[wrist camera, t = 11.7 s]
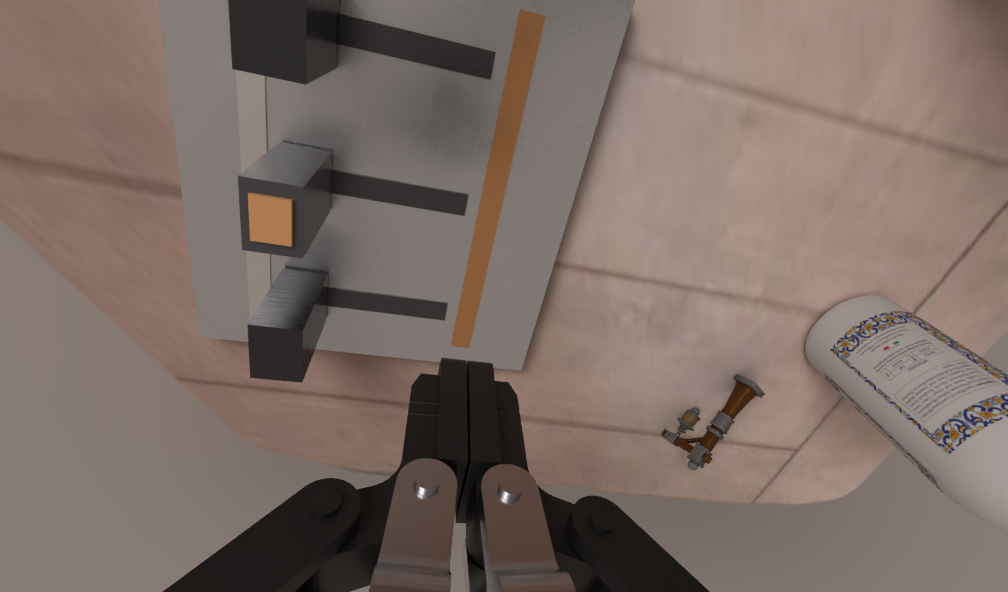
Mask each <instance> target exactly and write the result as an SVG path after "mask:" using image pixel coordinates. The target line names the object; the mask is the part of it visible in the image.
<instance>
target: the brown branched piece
mask: <svg viewBox="0 0 1008 592" xmlns="http://www.w3.org/2000/svg"><path fill="white" fill-rule="evenodd" d="M733 378H734V379H735V380H736V382H737V383H736V386H735V388H734V390H733V392H732V394H731V396H730V398H729V400H728V401H727V403H726V405H725V406H724V408H723V409H722V411H718V413H717V415H716V416H715V418H714V419H713V420H712V421H711V422H710V423H711V424H712V425H711V426H707V428H706V429H707V430H708V431H707V432H706V434H705V435H704V436H703V437H700V438H692V439H682V438H679V436H680V434H682V433H686V432H685V431H684V430H686V429H689V430H692V431H694V430H693V429H692V427H693V426H694V425H695V423H696V422H697V421H699V420H701V419H700V418H699V417H698V416H697V415H699V413H700V411H699V409H698V408H693V409H692V410H691V411H690V410H687V411H686V412H685V414H684V415H683V417H682V418H681V419H679V418H678V420H679V422H680V424H681V425H680V427H681V428H680V427H678V426H677V427H678V430H677V433H678V434H679V435H678V436H677V433H676V434H674V433H672V432H671V433H670V432H669V431H667V430H664V431H663V432H662V433H661V435H662V436H663V437H664V438H666V439H667V440H669V441H670V442H671V443H672V444H674V445H676V446H679V447H681V448H682V449H684V450H686V451H687V452H689V453H690V454H689V455H688V456H687V457H688V458H689V459H690V461H689V462H688V467H689V469H691V470H696V469H697V468H698V466H700V467H701V468H703V467H704V464H705V463H708V464H709V463H710V461H711V460H712V458H711V457H710V456H711V455H712V454H711V453H710V452H711V451H712V449H713V448H714V446H715V445H716V443H717V442H718V441H719V439H721V440H722V439H723V438H724V437H723V436H722V435H723V434H727V431H728V429H729V428H730V426H731V425H732V424H733V423H734V421H733V419H734V418H735V417H736V415H737V414H738V413H739V412H740V411H741V410H742V409H743V408H744V407H745V406H746V404H747V403H748V402H749V401H750V400H752V399H753V398H754V397H755V396H759V397H761V398H762V396H763V395H765V394H764V392H763V391H762V390H761V389H760V387H759V386H758V385H757V383H756V382H754V381H752V380H749V379H747V378H745V377H742V376H740V375H738V374H737V375H736V376H734V377H733ZM678 431H680V432H681V433H680V432H678ZM686 431H687V430H686ZM696 442H700V443H699V444H698V443H696ZM688 443H696V445H695V447H693V446H691V445H690V444H688Z"/></svg>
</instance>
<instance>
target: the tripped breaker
mask: <svg viewBox="0 0 1008 592" xmlns="http://www.w3.org/2000/svg"><path fill="white" fill-rule="evenodd" d="M331 169H332V151H326V150H321V149H316V148H310V147H305V146H300V145H294V144H289V143H284V142H280V143H278V144H277V145H276V146H275V147H273V148H272V149H271V150H270V151H268V152H267V153H266V154H264V155H263V156H262V157H261V158H259V159H258V160H257V161H256V162H254V163H253V164H252V165H251V166H249V167H248V168H247V169H246V170H244V171H243V172H242V173H240V174H239V175H238V190H239V207H240V224H241V240H242V250H245V251H252V252H259V253H266V254H273V255H280V256H287V257H294V258H301V259H303V258H304V256H305V254H306V252H307V251H308V249H309V247H310V245H311V244H312V242H313V240H314V238H315V237H316V235H317V233H318V232H319V230H320V228H321V226H322V225H323V223H324V221H325V219H326V218H327V216H328V214H329V212H330V194H331Z"/></svg>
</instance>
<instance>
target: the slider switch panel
mask: <svg viewBox="0 0 1008 592" xmlns="http://www.w3.org/2000/svg"><path fill="white" fill-rule="evenodd" d="M158 2H159V11H160V19H161V27H162V35H163V43H164V52H165V60H166V68H167V76H168V84H169V92H170V101H171V109H172V117H173V125H174V133H175V142H176V150H177V158H178V166H179V174H180V182H181V191H182V199H183V207H184V215H185V223H186V232H187V240H188V248H189V256H190V264H191V272H192V281H193V289H194V297H195V305H196V313H197V322H198V330H199V337H204V338H214V339H223V340H232V341H242V342H248V344H249V361H250V378H259V379H270V380H281V381H292V382H303V379H304V377H305V374H306V371H307V369H308V366H309V364H310V361H311V358H312V356H313V353H314V351H315V349H318V350H327V351H337V352H346V353H356V354H365V355H375V356H384V357H394V358H403V359H413V360H422V361H432V362H440V361H441V358H450V359H459V360H466V363H467V361H468V360H469V361H478V362H487V363H492V364H493V368H498V369H508V370H517V371H521V370H522V367H523V364H524V360H525V357H526V354H527V351H528V347H529V344H530V341H531V338H532V334H533V331H534V328H535V325H536V321H537V318H538V315H539V312H540V308H541V305H542V302H543V299H544V295H545V292H546V289H547V286H548V282H549V279H550V276H551V273H552V269H553V266H554V263H555V260H556V256H557V253H558V250H559V247H560V243H561V240H562V237H563V234H564V230H565V227H566V224H567V221H568V217H569V214H570V211H571V208H572V204H573V201H574V198H575V195H576V191H577V188H578V185H579V181H580V178H581V175H582V172H583V168H584V165H585V162H586V159H587V155H588V152H589V149H590V146H591V142H592V139H593V136H594V133H595V129H596V126H597V123H598V120H599V116H600V113H601V110H602V107H603V103H604V100H605V97H606V94H607V90H608V87H609V84H610V81H611V77H612V74H613V71H614V68H615V64H616V61H617V58H618V55H619V51H620V48H621V45H622V42H623V38H624V35H625V32H626V29H627V25H628V22H629V19H630V16H631V12H632V9H633V6H634V3H635V0H158ZM280 142H284V143H289V144H294V145H300V146H305V147H310V148H316V149H321V150H326V151H332V169H331V194H330V212H329V214H328V216H327V218H326V219H325V221H324V223H323V225H322V226H321V228H320V230H319V232H318V233H317V235H316V237H315V238H314V240H313V242H312V244H311V245H310V247H309V249H308V251H307V252H306V254H305V256H304V258H303V259H301V258H294V257H287V256H280V255H273V254H266V253H259V252H252V251H245V250H242V240H241V224H240V207H239V190H238V175H239V174H240V173H242V172H243V171H244V170H246V169H247V168H248V167H249V166H251V165H252V164H253V163H254V162H256V161H257V160H258V159H259V158H261V157H262V156H263V155H264V154H266V153H267V152H268V151H270V150H271V149H272V148H273V147H275V146H276V145H277V144H278V143H280Z"/></svg>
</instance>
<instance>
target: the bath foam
mask: <svg viewBox="0 0 1008 592" xmlns="http://www.w3.org/2000/svg"><path fill="white" fill-rule="evenodd" d="M805 354H806V357H807V359H808V361H809V363H810V364H811V365H812V366H813V367H814V368H815V369H816V370H817V371H818V372H819V373H820V374H821V375H822V376H823V377H824V378H825V379H826V380H827V381H828V382H829V383H830V384H831V385H832V386H833V387H834V388H835V389H836V390H837V391H838V392H839V393H840V394H841V395H842V396H843V397H844V398H845V399H847V400H848V401H849V402H850V403H851V404H852V405H853V406H854V407H855V408H856V409H857V410H858V411H859V412H860V413H861V414H862V415H863V416H864V417H865V418H866V419H867V420H868V421H869V422H870V423H871V424H872V425H873V426H874V427H875V428H876V429H878V430H879V431H880V432H881V433H882V434H883V435H884V436H885V437H886V438H887V439H888V440H889V441H890V442H891V443H892V444H893V445H894V446H895V447H896V448H897V449H898V450H900V452H901V453H902V454H903V455H904V456H905V457H906V458H908V459H909V460H910V461H911V462H912V463H913V464H914V465H915V466H916V467H917V468H918V469H919V470H920V471H921V472H922V473H923V474H924V475H925V476H926V477H927V478H928V479H929V480H930V481H931V482H932V483H933V484H934V485H936V487H938V488H939V489H940V490H941V491H942V492H943V493H945V494H946V495H947V496H948V497H949V498H951V499H952V500H953V501H954V502H956V503H957V504H958V505H960V506H961V507H962V508H964V509H965V510H967V511H968V512H970V513H971V514H973V515H974V516H976V517H978V518H979V519H981V520H983V521H985V522H987V523H988V524H990V525H992V526H994V527H997V528H999V529H1001V530H1003V531H1005V532H1008V375H1007V374H1006V373H1004V372H1003V371H1001V370H1000V369H998V368H997V367H995V366H993V365H992V364H990V363H989V362H987V361H985V360H984V359H983V358H981V357H980V356H978V355H976V354H975V353H973V352H972V351H970V350H969V349H967V348H966V347H964V346H963V345H961V344H959V343H958V342H956V341H955V340H953V339H952V338H950V337H949V336H947V335H945V334H944V333H942V332H941V331H939V330H938V329H936V328H935V327H933V326H932V325H930V324H928V323H927V322H925V321H924V320H922V319H921V318H919V317H918V316H916V315H914V314H912V313H911V312H909V311H908V310H906V309H905V308H903V307H902V306H900V305H899V304H897V303H895V302H894V301H892V300H890V299H888V298H886V297H883V296H879V295H865V296H859V297H854V298H851V299H848V300H845V301H843V302H841V303H839V304H837V305H835V306H834V307H832V308H831V309H829V310H828V311H827V312H826V313H824V314H823V315H822V316H821V317H820V318H819V319H818V320H817V321H816V323H815V324H814V325H813V327H812V328H811V330H810V331H809V333H808V336H807V338H806V342H805Z"/></svg>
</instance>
